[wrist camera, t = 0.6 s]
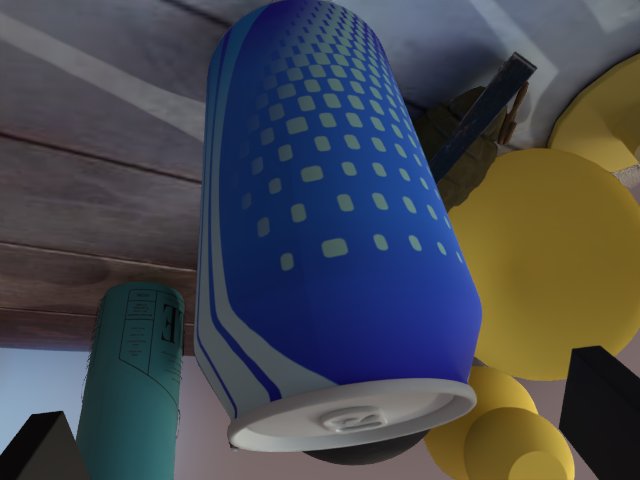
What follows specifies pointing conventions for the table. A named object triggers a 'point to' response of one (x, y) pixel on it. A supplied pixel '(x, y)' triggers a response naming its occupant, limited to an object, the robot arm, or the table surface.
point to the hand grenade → (472, 131)
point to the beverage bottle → (133, 384)
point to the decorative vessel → (538, 303)
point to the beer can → (324, 243)
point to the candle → (604, 120)
